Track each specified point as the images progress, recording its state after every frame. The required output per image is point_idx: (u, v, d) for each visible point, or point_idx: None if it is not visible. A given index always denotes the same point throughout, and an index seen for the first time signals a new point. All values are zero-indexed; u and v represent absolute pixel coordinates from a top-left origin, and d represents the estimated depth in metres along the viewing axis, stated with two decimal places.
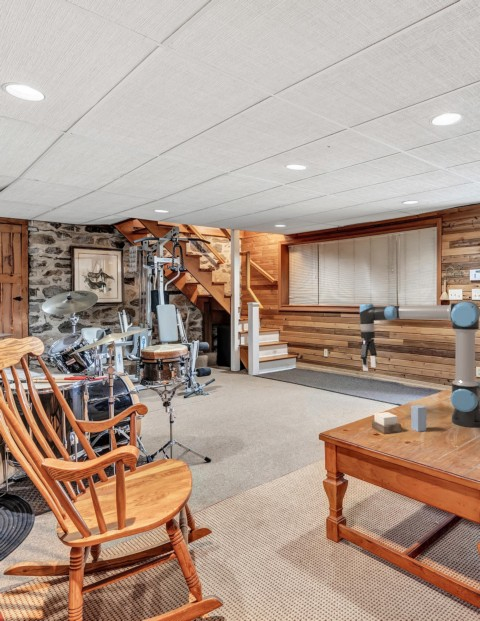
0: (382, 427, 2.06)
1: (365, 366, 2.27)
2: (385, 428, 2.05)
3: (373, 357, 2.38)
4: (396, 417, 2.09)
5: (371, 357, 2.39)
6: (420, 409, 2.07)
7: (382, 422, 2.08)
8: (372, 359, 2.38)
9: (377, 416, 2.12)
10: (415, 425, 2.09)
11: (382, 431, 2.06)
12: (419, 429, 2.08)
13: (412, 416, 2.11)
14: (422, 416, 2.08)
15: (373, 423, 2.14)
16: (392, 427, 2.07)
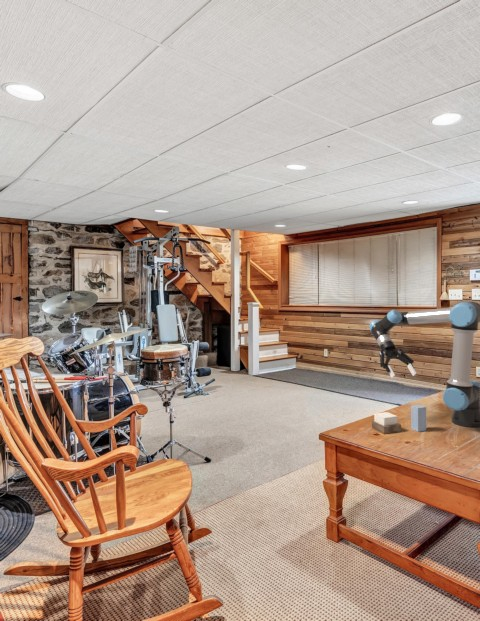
0: (382, 427, 2.06)
1: (391, 373, 2.18)
2: (385, 428, 2.05)
3: (409, 365, 2.25)
4: (396, 417, 2.09)
5: (408, 366, 2.25)
6: (420, 409, 2.07)
7: (382, 422, 2.08)
8: (409, 368, 2.24)
9: (377, 416, 2.11)
10: (415, 425, 2.09)
11: (382, 431, 2.06)
12: (419, 429, 2.08)
13: (412, 416, 2.11)
14: (422, 416, 2.08)
15: (373, 423, 2.13)
16: (392, 427, 2.06)
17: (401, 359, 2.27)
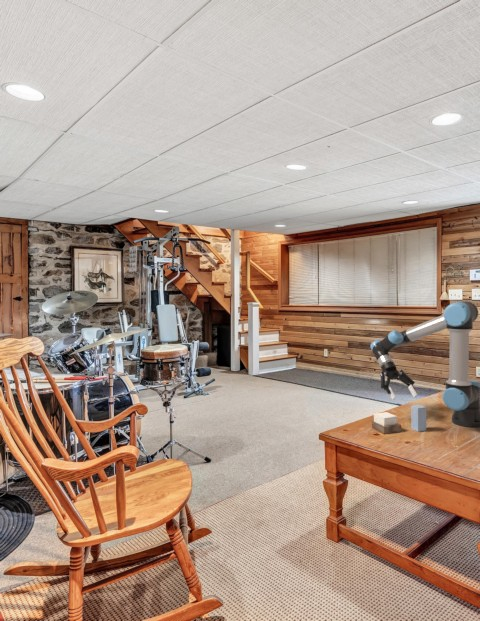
0: (382, 427, 2.06)
1: (391, 394, 2.19)
2: (385, 428, 2.05)
3: (410, 386, 2.25)
4: (396, 417, 2.09)
5: (409, 388, 2.25)
6: (420, 409, 2.07)
7: (382, 422, 2.07)
8: (410, 389, 2.24)
9: (377, 416, 2.11)
10: (415, 425, 2.09)
11: (382, 431, 2.06)
12: (419, 429, 2.08)
13: (412, 416, 2.11)
14: (422, 416, 2.08)
15: (373, 423, 2.13)
16: (392, 427, 2.06)
17: (402, 380, 2.27)
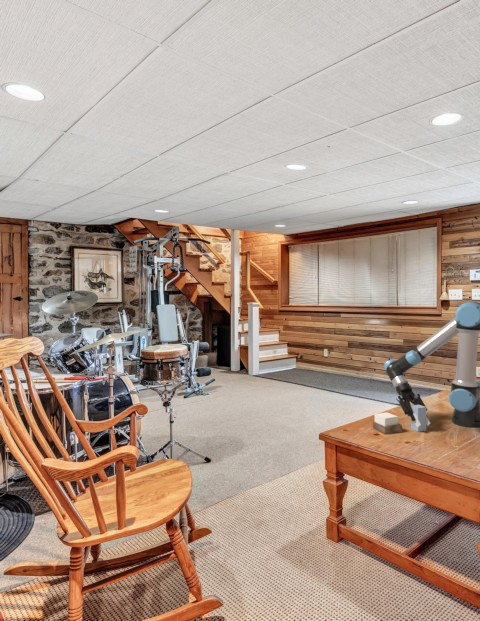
0: (383, 427, 2.06)
1: (416, 422, 2.07)
2: (386, 428, 2.05)
3: None
4: (396, 417, 2.08)
5: None
6: (420, 409, 2.07)
7: (383, 423, 2.07)
8: None
9: (377, 417, 2.11)
10: (415, 425, 2.09)
11: (383, 431, 2.06)
12: (419, 429, 2.08)
13: None
14: (422, 416, 2.08)
15: (374, 423, 2.13)
16: (393, 427, 2.06)
17: (415, 404, 2.15)
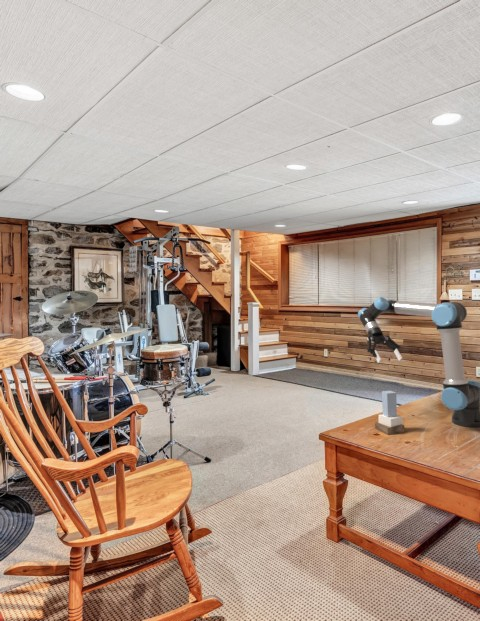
0: (385, 428, 2.05)
1: (377, 357, 2.26)
2: (388, 429, 2.04)
3: (395, 350, 2.32)
4: (401, 417, 2.08)
5: (394, 352, 2.33)
6: (389, 394, 2.07)
7: (388, 423, 2.06)
8: (396, 353, 2.32)
9: (382, 417, 2.09)
10: (385, 411, 2.09)
11: (385, 432, 2.05)
12: (389, 415, 2.07)
13: (383, 402, 2.11)
14: (391, 402, 2.08)
15: (376, 424, 2.12)
16: (395, 428, 2.05)
17: (388, 345, 2.35)
